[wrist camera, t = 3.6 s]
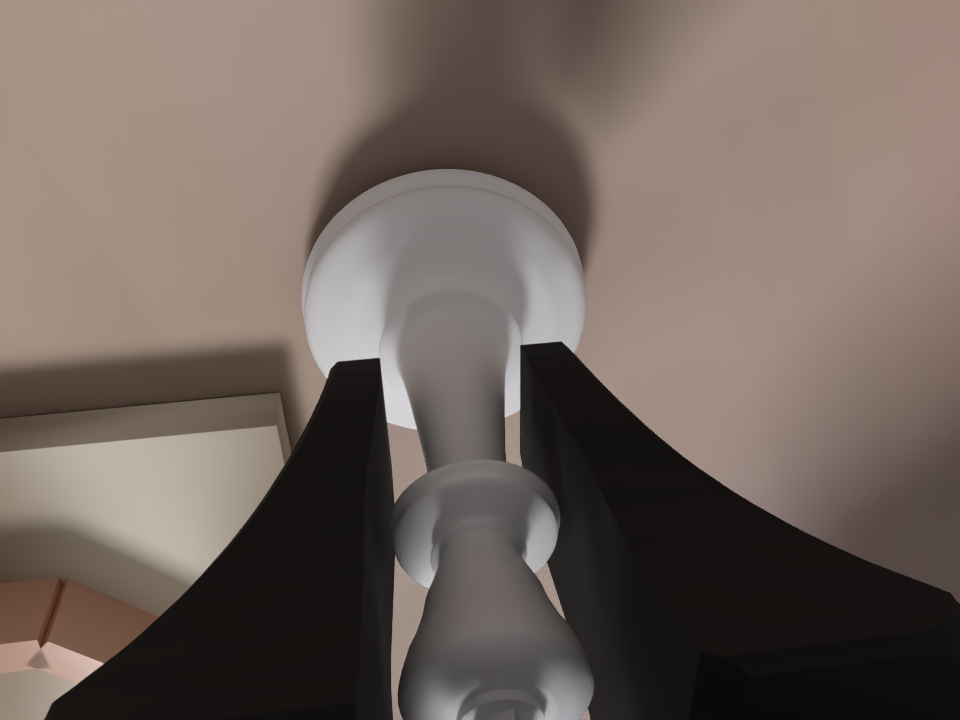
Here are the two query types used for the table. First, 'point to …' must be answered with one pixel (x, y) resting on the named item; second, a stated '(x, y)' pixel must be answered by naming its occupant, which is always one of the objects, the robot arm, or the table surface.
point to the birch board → (129, 503)
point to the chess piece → (461, 424)
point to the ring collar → (63, 627)
